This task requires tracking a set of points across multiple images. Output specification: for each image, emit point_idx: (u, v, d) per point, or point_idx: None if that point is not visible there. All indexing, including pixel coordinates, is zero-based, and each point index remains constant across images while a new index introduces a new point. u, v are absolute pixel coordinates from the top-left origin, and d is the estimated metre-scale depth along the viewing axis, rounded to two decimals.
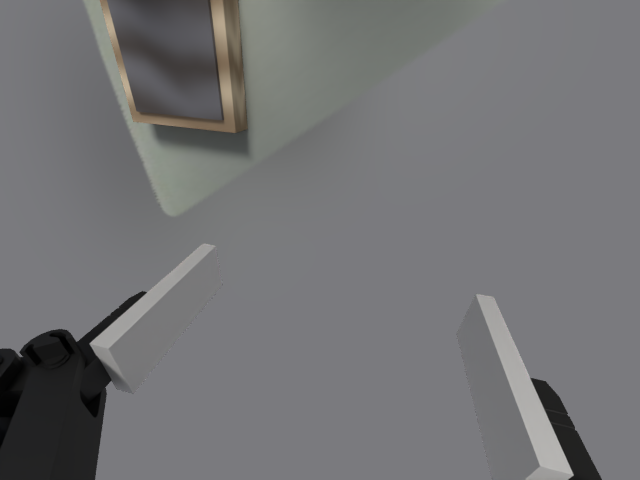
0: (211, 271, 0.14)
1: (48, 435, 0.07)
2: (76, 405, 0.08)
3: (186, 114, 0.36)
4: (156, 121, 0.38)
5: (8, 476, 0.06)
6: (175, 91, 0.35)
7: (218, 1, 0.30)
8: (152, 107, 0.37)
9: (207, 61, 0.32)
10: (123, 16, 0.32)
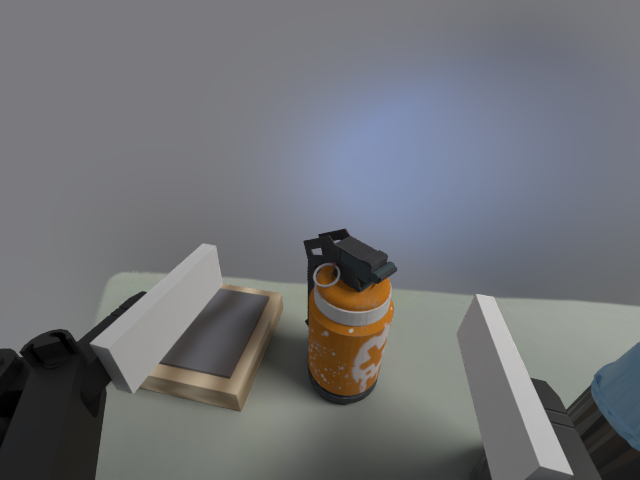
0: (211, 271, 0.14)
1: (49, 435, 0.07)
2: (76, 405, 0.08)
3: None
4: None
5: (8, 476, 0.06)
6: None
7: (217, 385, 0.30)
8: None
9: (181, 357, 0.32)
10: (247, 301, 0.40)
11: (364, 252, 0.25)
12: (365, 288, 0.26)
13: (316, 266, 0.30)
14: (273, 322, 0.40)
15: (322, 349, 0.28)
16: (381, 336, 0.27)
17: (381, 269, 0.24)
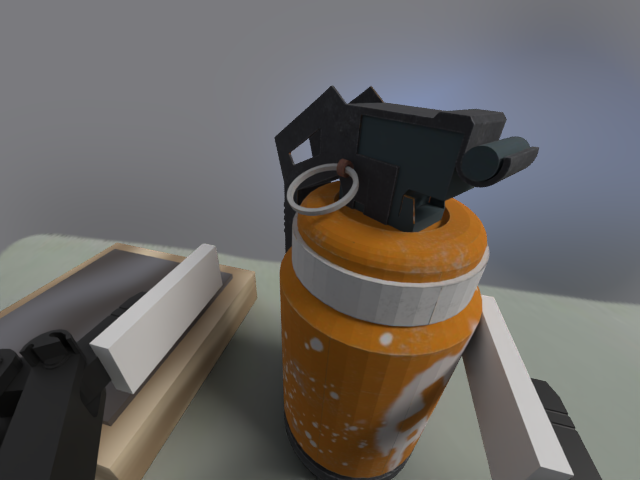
0: (211, 271, 0.14)
1: (48, 436, 0.07)
2: (76, 405, 0.08)
3: (29, 303, 0.21)
4: (84, 264, 0.26)
5: (8, 476, 0.06)
6: (70, 301, 0.21)
7: None
8: (95, 265, 0.25)
9: None
10: None
11: (432, 113, 0.09)
12: (423, 227, 0.10)
13: (301, 195, 0.14)
14: (234, 317, 0.24)
15: (308, 381, 0.12)
16: (458, 356, 0.10)
17: (499, 142, 0.07)
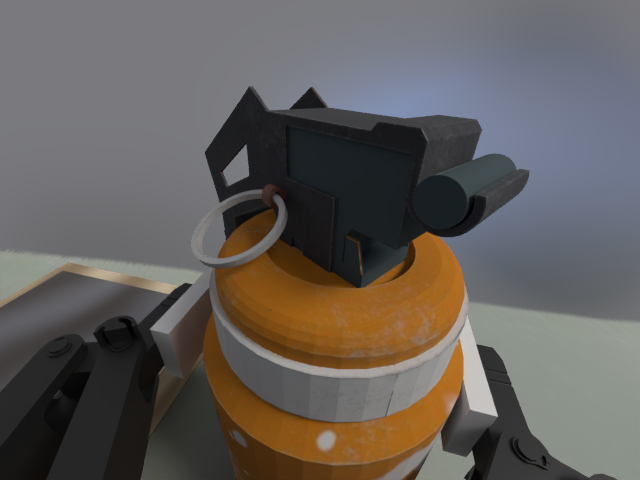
0: None
1: (109, 418, 0.07)
2: (134, 391, 0.08)
3: None
4: (25, 290, 0.23)
5: (74, 452, 0.07)
6: None
7: None
8: (35, 292, 0.22)
9: None
10: (148, 308, 0.21)
11: None
12: (380, 274, 0.07)
13: (241, 223, 0.11)
14: None
15: (242, 471, 0.09)
16: (433, 441, 0.08)
17: (469, 167, 0.05)
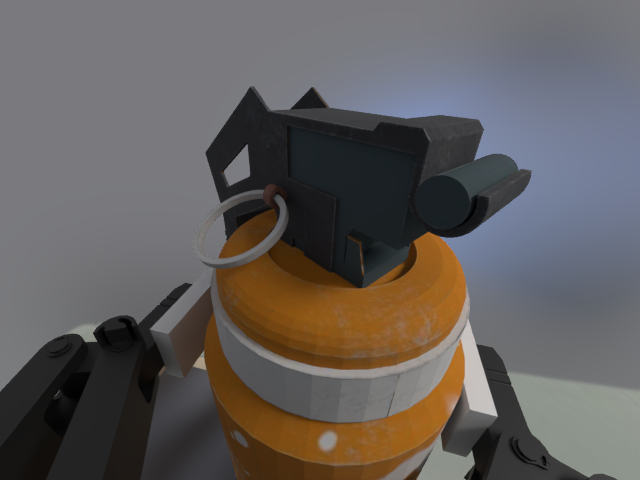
0: None
1: (109, 418, 0.07)
2: (134, 391, 0.08)
3: None
4: None
5: (74, 452, 0.07)
6: None
7: None
8: (158, 387, 0.26)
9: None
10: None
11: (380, 122, 0.06)
12: (381, 274, 0.07)
13: (242, 223, 0.11)
14: None
15: (243, 472, 0.09)
16: (434, 442, 0.08)
17: (471, 167, 0.05)
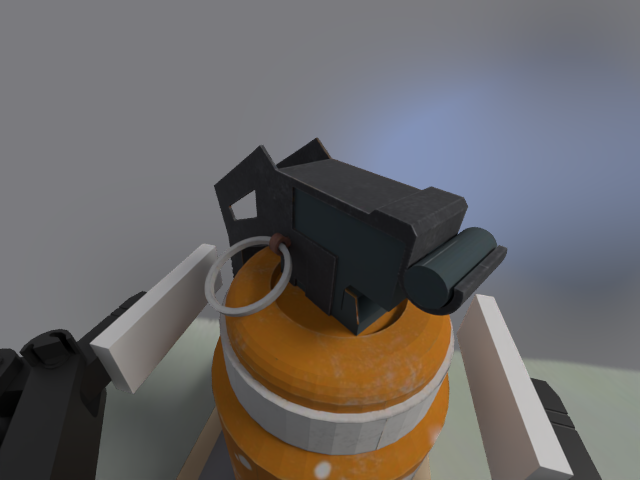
0: None
1: (48, 435, 0.07)
2: (76, 405, 0.08)
3: (212, 457, 0.18)
4: None
5: (8, 476, 0.06)
6: None
7: None
8: None
9: None
10: None
11: (377, 192, 0.07)
12: (374, 318, 0.08)
13: (247, 252, 0.12)
14: None
15: None
16: (418, 467, 0.09)
17: (453, 252, 0.05)
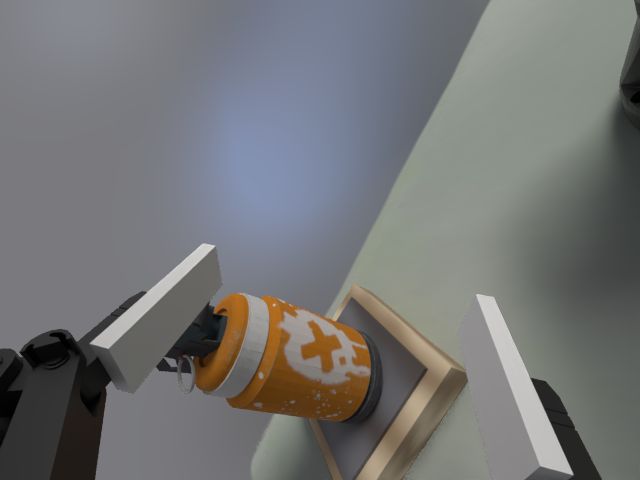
0: (211, 271, 0.14)
1: (49, 435, 0.07)
2: (76, 405, 0.08)
3: (324, 432, 0.29)
4: None
5: (8, 476, 0.06)
6: None
7: (430, 387, 0.23)
8: None
9: (377, 419, 0.25)
10: (346, 322, 0.34)
11: None
12: (225, 331, 0.21)
13: None
14: (381, 303, 0.34)
15: (285, 410, 0.22)
16: (294, 335, 0.21)
17: None
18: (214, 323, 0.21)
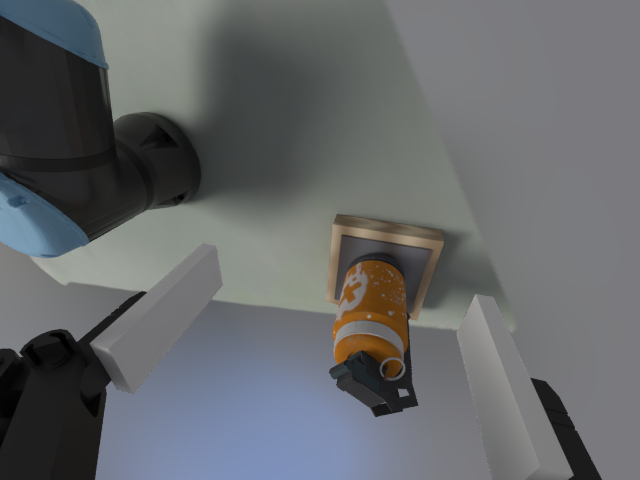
0: (211, 271, 0.14)
1: (49, 435, 0.07)
2: (76, 405, 0.08)
3: (420, 278, 0.42)
4: (420, 303, 0.45)
5: (8, 476, 0.06)
6: None
7: (349, 229, 0.41)
8: (409, 301, 0.45)
9: (384, 249, 0.41)
10: None
11: (357, 390, 0.27)
12: (356, 353, 0.30)
13: (402, 375, 0.31)
14: None
15: (392, 298, 0.33)
16: (343, 309, 0.33)
17: (342, 373, 0.27)
18: None
